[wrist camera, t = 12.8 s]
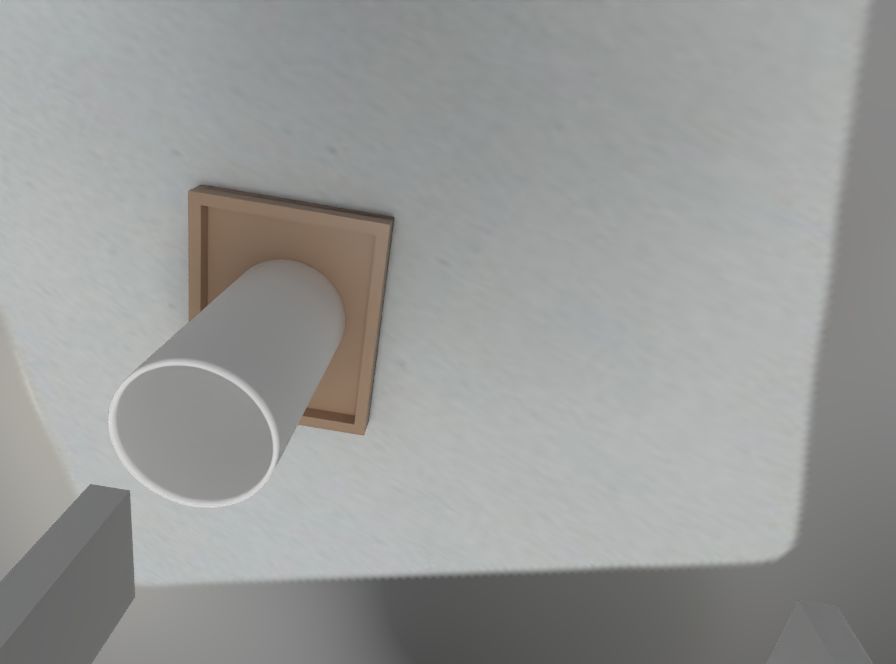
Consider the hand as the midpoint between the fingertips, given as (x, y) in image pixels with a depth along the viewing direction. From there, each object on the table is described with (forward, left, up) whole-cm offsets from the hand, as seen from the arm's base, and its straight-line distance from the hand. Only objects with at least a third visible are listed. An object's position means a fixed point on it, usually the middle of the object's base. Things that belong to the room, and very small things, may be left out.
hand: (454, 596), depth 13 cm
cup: (+9, -12, -32) cm, 35 cm away
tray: (+9, -12, -33) cm, 36 cm away
